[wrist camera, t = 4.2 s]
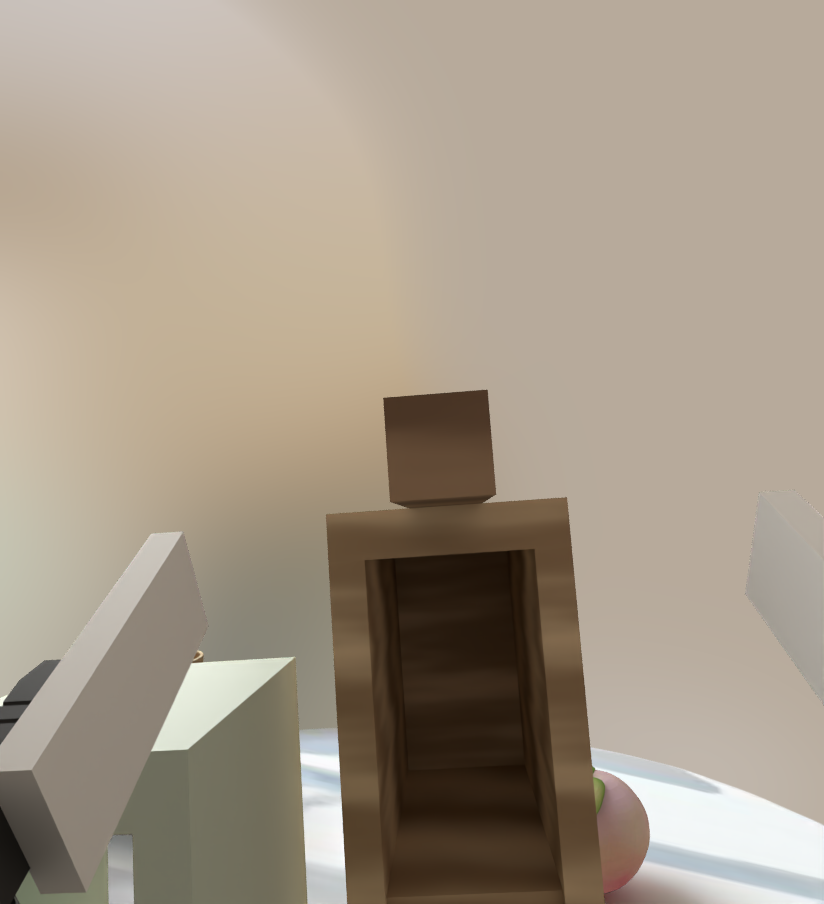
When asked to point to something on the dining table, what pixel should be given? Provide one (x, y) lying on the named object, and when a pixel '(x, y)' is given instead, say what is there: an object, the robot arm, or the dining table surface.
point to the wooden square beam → (439, 449)
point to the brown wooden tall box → (462, 706)
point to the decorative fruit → (619, 830)
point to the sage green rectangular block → (216, 796)
